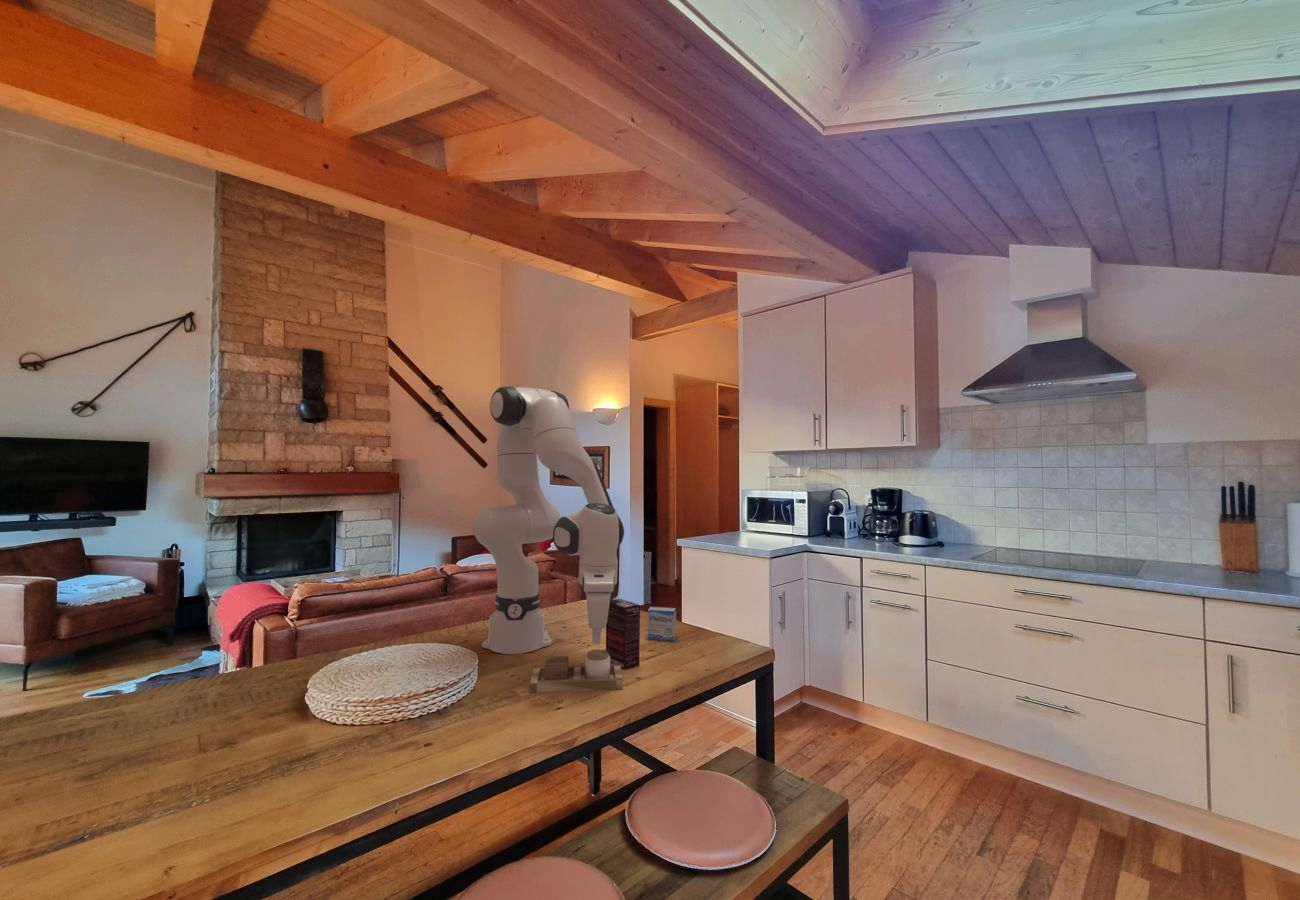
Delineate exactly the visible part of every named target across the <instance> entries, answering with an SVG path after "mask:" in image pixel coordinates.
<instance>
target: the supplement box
mask: <svg viewBox="0 0 1300 900" xmlns="http://www.w3.org/2000/svg"><path fill="white" fill-rule="evenodd" d="M640 619H641V605H640V604H638V603H635V602H632V601H629V600H626V599H622V598H615V599H610V604H609V612H608V619H607V624H606V627H605V650H606V651H608V654H609V655H610V664H616V663H620V667H621V670H624V671H626V670H630V669H633V668H638V667H640V644H641V643H640V639H641V638H640V633H641V632H640V631H641V629H640V627H641V625H640V623H641V620H640Z"/></svg>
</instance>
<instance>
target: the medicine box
mask: <svg viewBox="0 0 1300 900" xmlns="http://www.w3.org/2000/svg"><path fill="white" fill-rule="evenodd" d="M676 636H677V608H676V607H660V606H650V607H649V608H648V610H647V640H648V641H659V642H660V641H661V642H663V641H664V642H675V639H676V638H677V637H676Z"/></svg>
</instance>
